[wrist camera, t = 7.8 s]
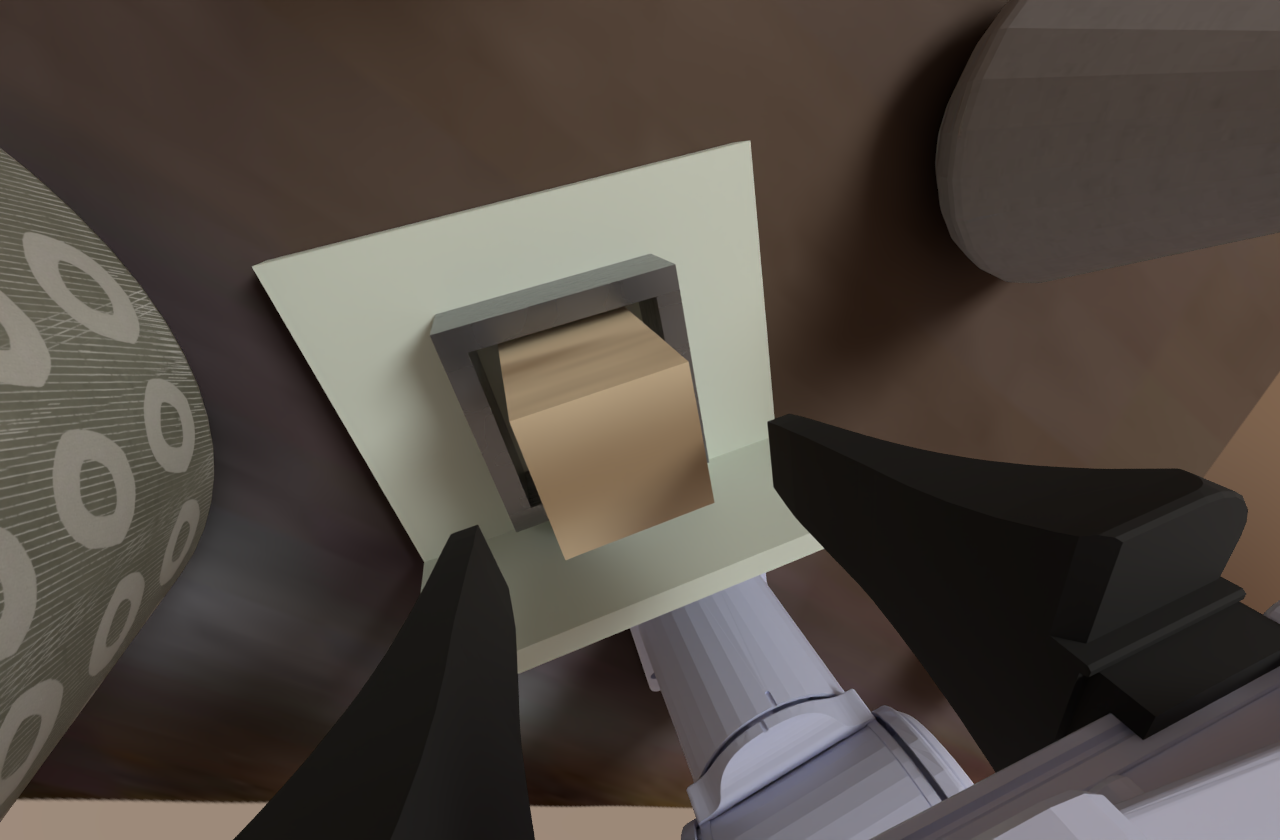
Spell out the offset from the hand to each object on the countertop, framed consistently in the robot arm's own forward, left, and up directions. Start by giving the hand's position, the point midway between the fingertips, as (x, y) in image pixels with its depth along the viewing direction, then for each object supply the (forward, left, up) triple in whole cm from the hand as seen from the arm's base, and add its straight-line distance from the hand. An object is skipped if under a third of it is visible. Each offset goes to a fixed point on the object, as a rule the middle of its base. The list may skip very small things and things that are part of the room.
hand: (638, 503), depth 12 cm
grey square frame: (-1, 0, -8) cm, 8 cm away
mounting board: (0, 0, -9) cm, 9 cm away
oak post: (0, 0, -8) cm, 8 cm away
